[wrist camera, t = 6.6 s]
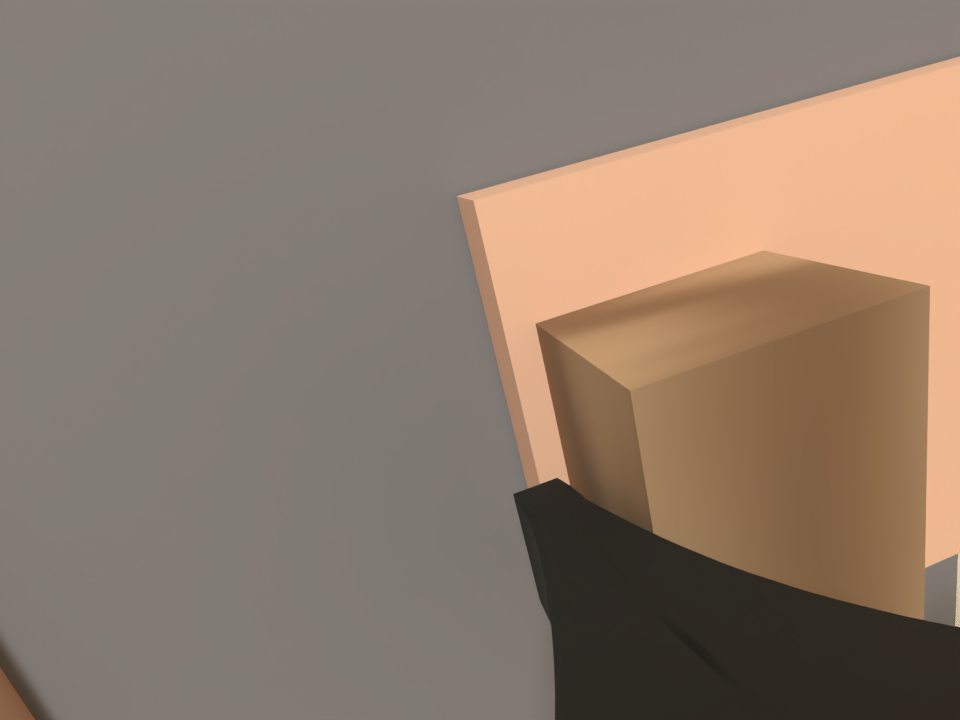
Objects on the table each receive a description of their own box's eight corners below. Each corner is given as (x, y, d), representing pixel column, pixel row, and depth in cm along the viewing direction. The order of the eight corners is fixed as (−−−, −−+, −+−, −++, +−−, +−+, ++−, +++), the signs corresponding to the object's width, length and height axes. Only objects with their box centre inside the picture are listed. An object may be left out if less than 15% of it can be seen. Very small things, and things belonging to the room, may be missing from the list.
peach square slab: (573, 675, 14) (678, 870, 10) (456, 196, 10) (553, 223, 6) (963, 509, 15) (1175, 623, 12) (982, 50, 12) (1297, 5, 8)
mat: (-383, 1222, 12) (-415, 1273, 12) (-1817, 333, 6) (-2040, 352, 5) (933, 620, 17) (954, 635, 17) (953, -201, 11) (989, -221, 10)
